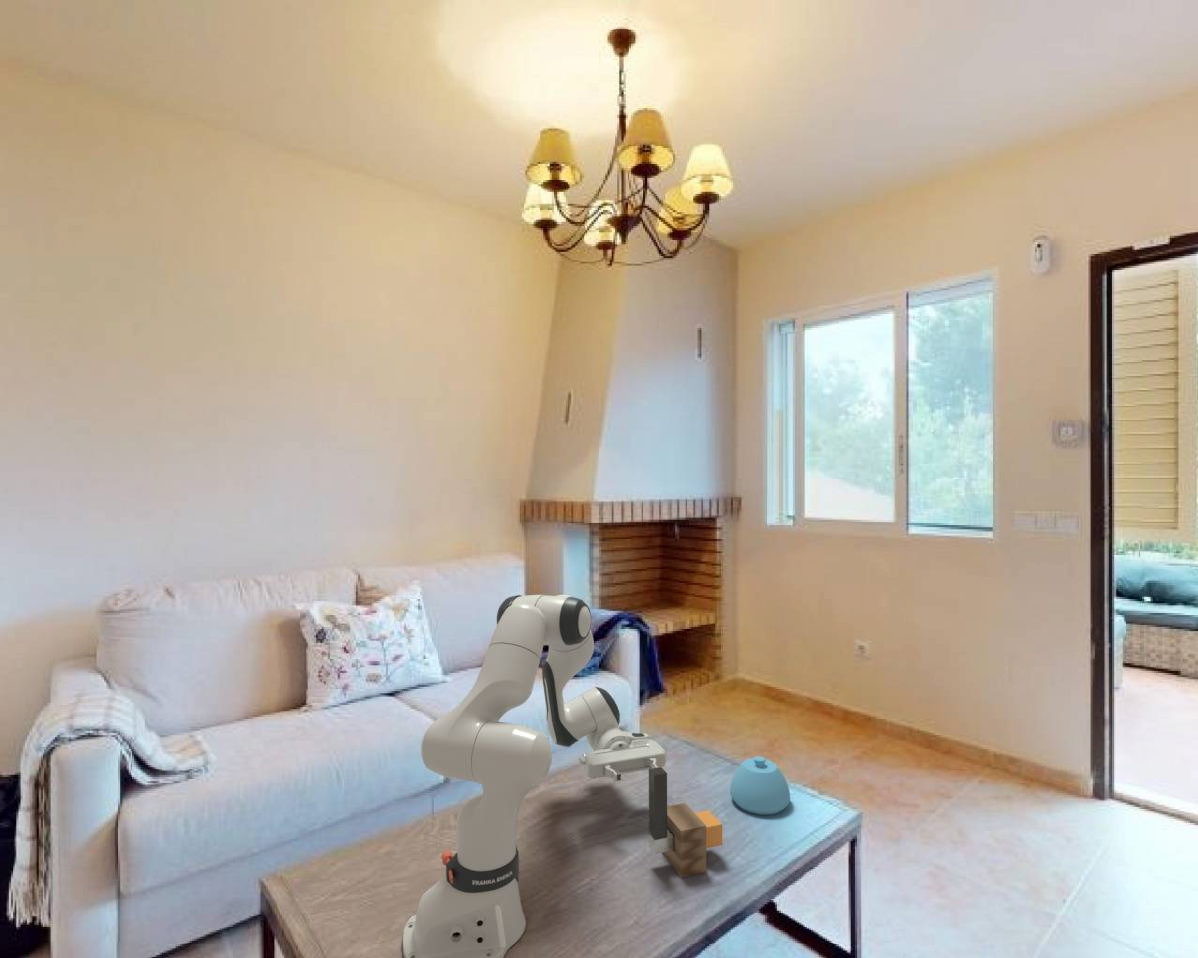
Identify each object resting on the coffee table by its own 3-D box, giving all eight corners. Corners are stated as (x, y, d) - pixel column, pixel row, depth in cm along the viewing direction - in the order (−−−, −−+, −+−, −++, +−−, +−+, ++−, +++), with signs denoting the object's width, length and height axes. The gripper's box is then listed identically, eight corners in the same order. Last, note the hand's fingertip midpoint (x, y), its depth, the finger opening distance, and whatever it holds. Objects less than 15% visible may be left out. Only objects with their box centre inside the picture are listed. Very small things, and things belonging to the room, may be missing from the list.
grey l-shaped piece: (654, 854, 137) (654, 775, 137) (649, 846, 140) (648, 769, 140) (720, 839, 143) (720, 763, 142) (714, 832, 145) (713, 757, 145)
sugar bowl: (799, 800, 167) (799, 755, 167) (775, 824, 156) (774, 777, 155) (746, 782, 177) (746, 740, 177) (719, 804, 165) (719, 760, 165)
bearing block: (681, 877, 136) (680, 830, 135) (661, 851, 145) (661, 807, 145) (706, 871, 138) (706, 825, 137) (685, 846, 147) (685, 802, 147)
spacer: (706, 848, 140) (706, 827, 139) (692, 833, 145) (692, 813, 145) (722, 844, 141) (722, 824, 141) (708, 829, 147) (708, 809, 147)
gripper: (577, 743, 160) (594, 767, 147) (652, 732, 167) (675, 754, 153) (577, 768, 160) (594, 795, 147) (652, 756, 167) (675, 780, 154)
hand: (636, 774), depth 150 cm, fingers open, 8 cm apart
